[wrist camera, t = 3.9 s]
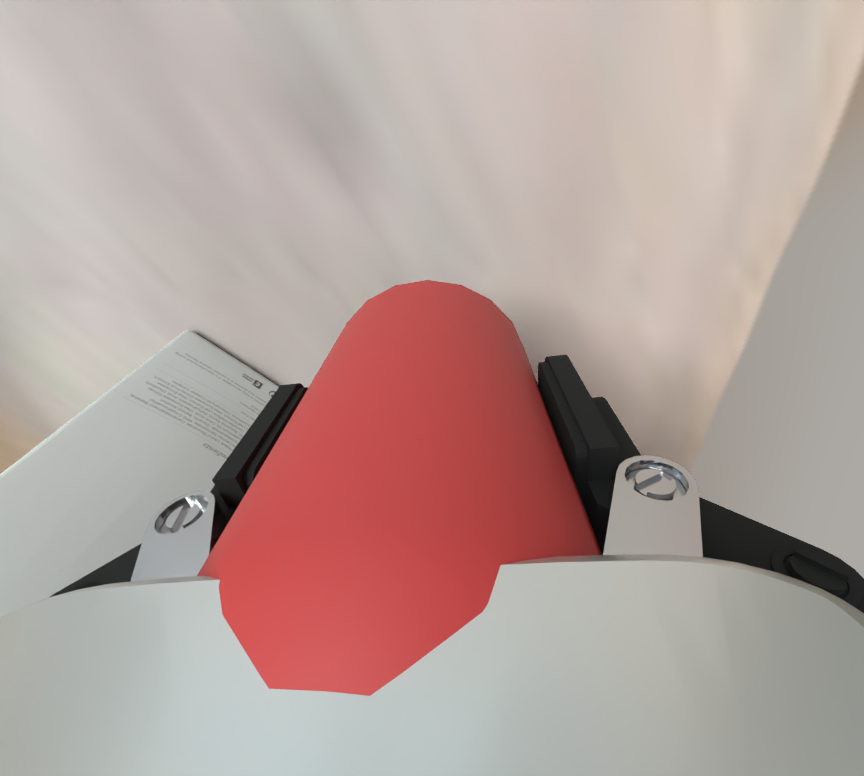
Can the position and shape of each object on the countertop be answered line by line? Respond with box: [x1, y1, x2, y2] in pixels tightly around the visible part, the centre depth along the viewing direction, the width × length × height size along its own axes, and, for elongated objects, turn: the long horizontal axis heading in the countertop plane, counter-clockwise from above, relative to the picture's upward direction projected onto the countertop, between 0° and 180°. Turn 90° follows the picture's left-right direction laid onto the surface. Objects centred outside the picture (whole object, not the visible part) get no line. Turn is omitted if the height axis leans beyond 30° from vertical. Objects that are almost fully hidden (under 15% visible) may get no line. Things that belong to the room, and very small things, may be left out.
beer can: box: [197, 280, 602, 696], centre depth 9 cm, size 7×7×12 cm
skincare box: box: [0, 330, 279, 617], centre depth 16 cm, size 8×7×16 cm
